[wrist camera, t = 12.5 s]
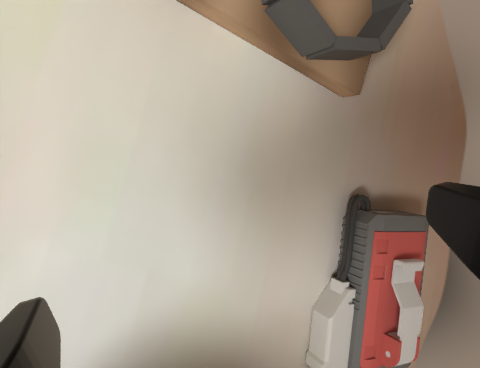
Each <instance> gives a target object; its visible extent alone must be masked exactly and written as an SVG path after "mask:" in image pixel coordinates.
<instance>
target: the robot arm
mask: <svg viewBox="0 0 480 368" xmlns="http://www.w3.org/2000/svg"><path fill="white" fill-rule="evenodd" d="M426 219H427V222H428V223H429V225H430V226H431V227H432V228H433V229H434V230H435V232H436V233H437V234H438V235H439V236H440V237H441V238H442V240H443V241H444V242H445V243H446V244H447V245H448V246H449V247H450V249H451V250H452V251H453V252H454V253H455V254H456V255H457V256H458V258H459V259H460V260H461V261H462V262H463V263H464V264H465V265H466V267H468V269H469V270H470V271H471V272H472V273H473V274H474V275H475V276H476V277H477V278H478V279H479V280H480V187H478V186H472V185H465V184H459V183H452V182H444V183H440V184H437V185H433V186H432V187H431V188H430V190H429V192H428V199H427V207H426ZM60 342H61V339H60V331H59V327H58V325H57V323H56V321H55V318H54V316H53V314H52V312H51V310H50V308H49V306H48V304H47V302H46V301H45V299H44V298H41V297H38V298H35V299H31V300H27V301H24V302H21V303H19V304H18V305H17V306H16V307H15V308H14V309H13V310H12V311H11V312H10V313H9V314H8V315H7V316H6V317H5V318H4V319H3V320H2V321H1V322H0V368H60Z"/></svg>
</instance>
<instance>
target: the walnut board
mask: <svg viewBox="0 0 480 368" xmlns="http://www.w3.org/2000/svg"><path fill="white" fill-rule="evenodd" d="M177 1H179V2H180V3H182V4H184V5H185V6H187V7H189V8H191V9H192V10H194V11H196V12H197V13H199V14H201V15H203V16H204V17H206V18H208V19H209V20H211V21H213V22H215V23H216V24H218V25H220V26H221V27H223V28H225V29H227V30H228V31H230V32H232V33H233V34H235V35H237V36H239V37H240V38H242V39H244V40H245V41H247V42H249V43H251V44H252V45H254V46H256V47H257V48H259V49H261V50H263V51H264V52H266V53H268V54H269V55H271V56H273V57H275V58H276V59H278V60H280V61H281V62H283V63H285V64H287V65H288V66H290V67H292V68H294V69H295V70H297V71H299V72H300V73H302V74H304V75H306V76H307V77H309V78H311V79H312V80H314V81H316V82H318V83H319V84H321V85H323V86H324V87H326V88H328V89H330V90H331V91H333V92H335V93H336V94H338V95H340V96H342V97H347V96H353V95H359V93H360V90H361V87H362V83H363V80H364V77H365V74H366V70H367V67H368V64H369V60H370V57H371V54H370V55H366V56H363V57H360V58H356V59H353V60H349V61H347V60H306V56H304V57H301V55H300V54H299V53H298V52H297V51H296V49H295V48H294V47H293V46H292V44H291V43H290V42H289V41H288V40H287V38H286V37H285V36H284V35H283V33H282V32H281V31H280V30H279V29H278V27H277V26H276V25H275V24H274V22H273V21H272V20H271V19H270V18H269V16H268V15H267V14H266V13H265V10H266V8H267V7H268V5H262V1H261V0H177ZM310 1H311V2H312V4H313V5H314V6H315V8H316V9H317V10H318V12H319V13H320V15H321V16H322V17H323V19H324V20H325V21H326V23H327V24H328V25H329V27H330V28H331V29H332V31H333V32H334V33H335V35H336V36H347V37H356V36H357V35H358V34H359V32H360V31H361V29H362V28H363V27H364V25H365V24H366V22H367V21H368V19H369V18H370V17H371V15H372V0H310Z"/></svg>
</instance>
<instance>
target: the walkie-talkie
mask: <svg viewBox="0 0 480 368" xmlns="http://www.w3.org/2000/svg"><path fill="white" fill-rule="evenodd" d="M360 202H361V210H357V208H358V205H359V203H360ZM343 219H344V222H343V224H342V227H343V231H342V232H341V234H342V239H341V246H340V249H341V250H340V254H339V257H340V259H339V261H338V264H339V268H338V269H337V271H338V272H337V277H335V278H331V281H330V282H329V283H328V285H327V286H326V288H325V289H324V291H323V292H322V294H321V295H320V297H319V298H318V300H317V301H316V303H315V304H314V306H313V312H312V321H311V330H310V340H309V349H308V351H307V353H306V364H308V365H309V366H310V367H311V368H408V366H409V365H410V363H411V362H413V361H415V360H416V358H417V356H418V351H419V342H420V338H419V337H417V336H418V334H419V333H420V332H421V326H422V318H423V309H424V306H423V303H422V301H421V298H420V297H421V289H422V288H421V287H422V278H423V270H424V262H425V254H426V246H427V245H426V244H427V236H428V227H429V223H428V222H427V219H426V216H423V215H418V214H412V213H406V212H400V211H381V210H371V204H370V200H369V198H368V197H366V196H364V195H358V194H357V195H354V196H353V197H352V198H351V199H350V202H349V205H348V208H347V214H346V215H345V216H344V218H343Z"/></svg>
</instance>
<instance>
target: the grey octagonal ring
mask: <svg viewBox="0 0 480 368" xmlns="http://www.w3.org/2000/svg"><path fill="white" fill-rule="evenodd" d="M261 1H262V5H268V7H267V8H266V10H265V13H266V14H267V15H268V16H269V18H270V19H271V20H272V21H273V22H274V24H275V25H276V26H277V27H278V29H279V30H280V31H281V32H282V33H283V35H284V36H285V37H286V38H287V40H288V41H289V42H290V43H291V44H292V46H293V47H294V48H295V49H296V51H297V52H298V53H299V54H300V55H301V57H304V56H306V60H347V61H349V60H353V59H356V58H360V57H363V56H366V55H370V54H373V53H377V52H380V51H381V50H383V49H385V48H386V46H387V45H388V43H389V42H390V40H391V39H392V37H393V36H394V34H395V33H396V31H397V30H398V28H399V27H400V25H401V24H402V22H403V21H404V20H405V18H406V17H407V15H408V14H409V12H410V11H411V9H412V8H411V7H410V5H411V4H413V0H372V15H371V17H370V18H369V19H368V21H367V22H366V24H365V25H364V27H363V28H362V29H361V31H360V32H359V34H358V35H357V36H356V37H347V36H336V35H335V33H334V32H333V31H332V29H331V28H330V27H329V25H328V24H327V23H326V21H325V20H324V19H323V17H322V16H321V15H320V13H319V12H318V10H317V9H316V8H315V6H314V5H313V4H312V2H311V1H310V0H261Z"/></svg>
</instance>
